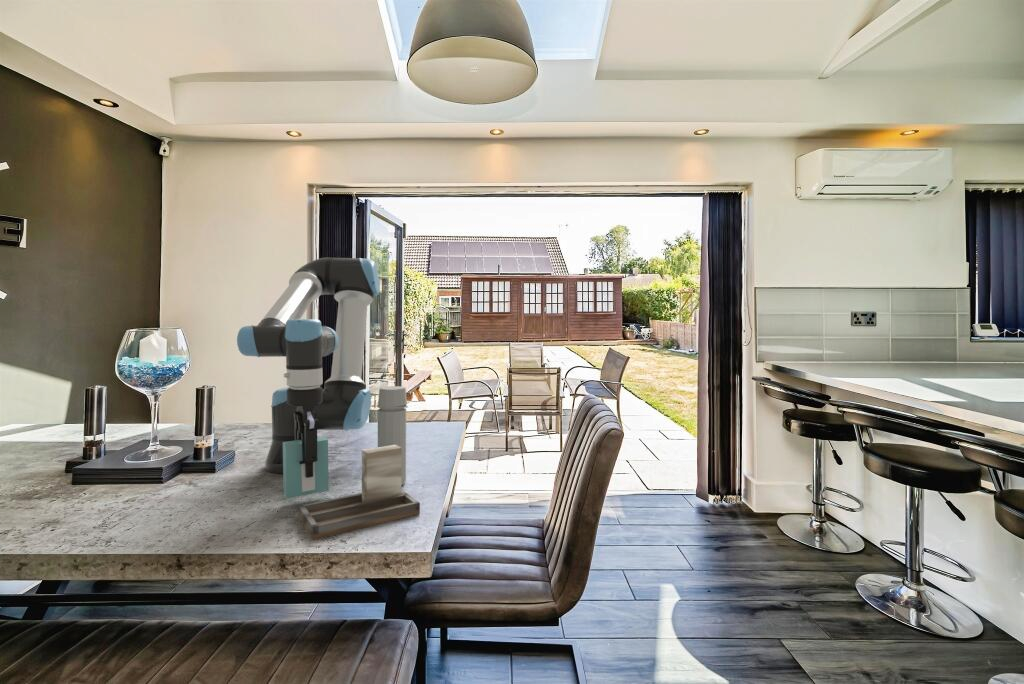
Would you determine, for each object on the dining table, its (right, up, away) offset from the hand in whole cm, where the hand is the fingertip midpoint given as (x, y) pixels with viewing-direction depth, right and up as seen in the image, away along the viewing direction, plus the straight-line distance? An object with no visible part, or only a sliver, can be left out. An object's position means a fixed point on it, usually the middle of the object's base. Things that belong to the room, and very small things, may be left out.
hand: (306, 487), depth 109 cm
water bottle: (+17, -3, +14) cm, 22 cm away
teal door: (0, -1, 0) cm, 1 cm away
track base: (+15, -4, -7) cm, 17 cm away
